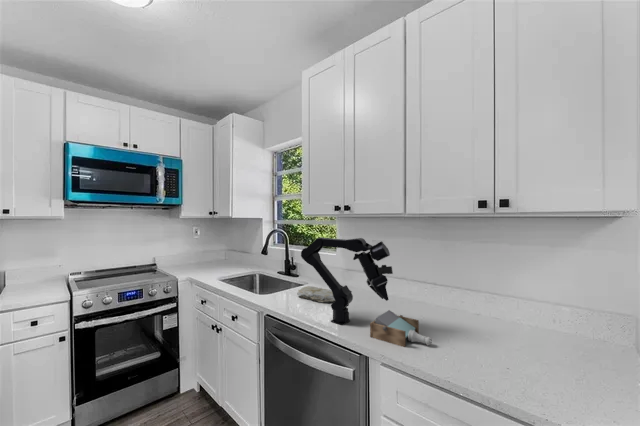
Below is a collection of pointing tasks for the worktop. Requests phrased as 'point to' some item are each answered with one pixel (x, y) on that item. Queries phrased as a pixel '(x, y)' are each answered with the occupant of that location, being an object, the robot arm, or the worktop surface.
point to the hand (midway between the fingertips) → (385, 299)
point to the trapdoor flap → (394, 322)
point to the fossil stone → (316, 294)
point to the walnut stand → (392, 332)
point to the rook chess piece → (418, 338)
